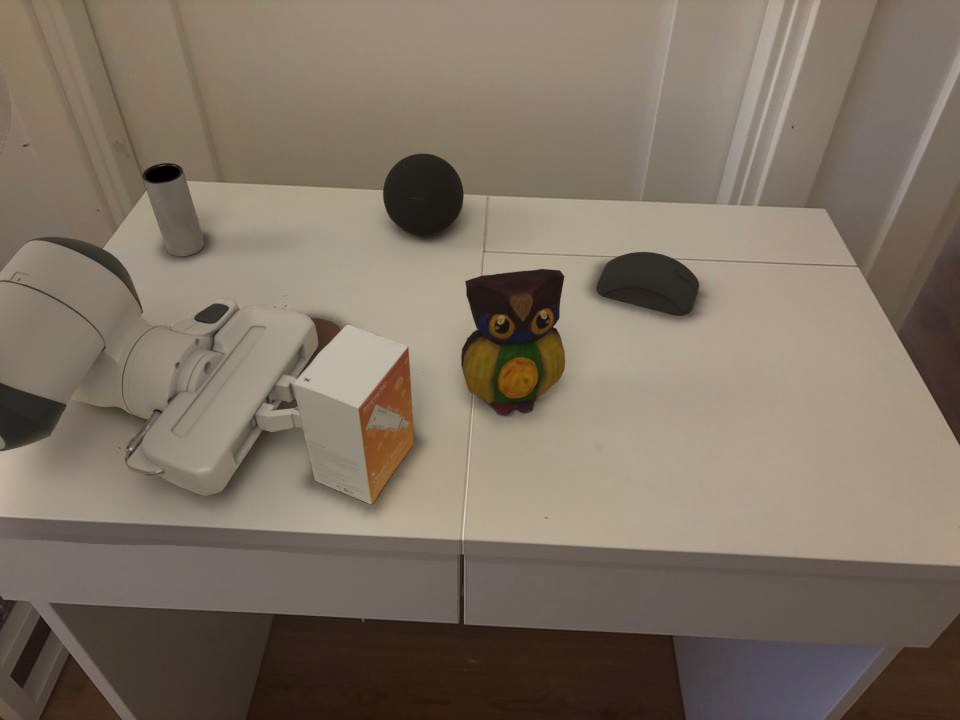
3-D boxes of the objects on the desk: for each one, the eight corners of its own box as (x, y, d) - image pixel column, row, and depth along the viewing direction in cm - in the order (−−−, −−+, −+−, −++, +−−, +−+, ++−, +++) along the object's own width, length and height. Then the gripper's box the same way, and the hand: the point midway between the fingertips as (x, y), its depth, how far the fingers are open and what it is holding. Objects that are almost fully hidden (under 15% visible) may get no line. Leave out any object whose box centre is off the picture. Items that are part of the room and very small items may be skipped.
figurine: (468, 429, 73) (469, 313, 62) (456, 378, 77) (455, 262, 67) (565, 415, 74) (582, 300, 63) (547, 366, 79) (560, 251, 68)
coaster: (301, 382, 77) (301, 380, 76) (254, 345, 80) (254, 343, 80) (360, 343, 81) (360, 341, 81) (313, 310, 85) (312, 308, 84)
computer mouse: (689, 319, 85) (697, 292, 82) (593, 294, 87) (598, 267, 85) (699, 286, 89) (707, 259, 86) (607, 263, 92) (612, 237, 89)
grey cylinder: (176, 233, 95) (152, 160, 87) (210, 237, 94) (189, 164, 87) (160, 255, 91) (134, 181, 84) (195, 258, 91) (172, 184, 84)
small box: (372, 507, 66) (358, 409, 57) (312, 481, 68) (289, 383, 59) (417, 443, 71) (410, 344, 62) (360, 420, 73) (345, 321, 64)
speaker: (407, 260, 91) (402, 189, 84) (373, 219, 97) (366, 150, 90) (477, 237, 95) (478, 167, 88) (440, 199, 101) (439, 131, 94)
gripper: (99, 441, 60) (254, 483, 57) (231, 286, 74) (360, 315, 71) (124, 487, 64) (269, 528, 62) (244, 333, 78) (366, 361, 75)
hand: (319, 413), depth 66 cm, fingers closed
